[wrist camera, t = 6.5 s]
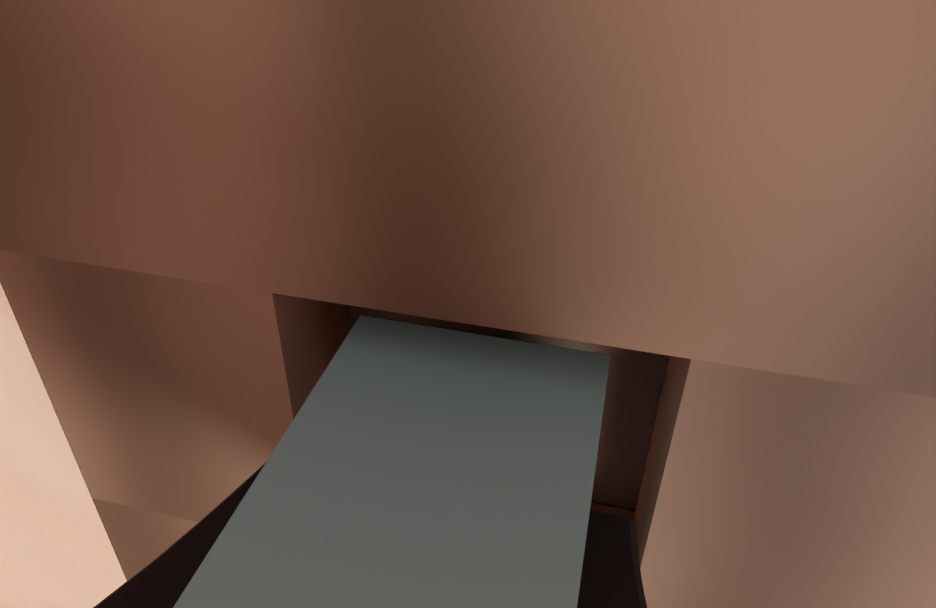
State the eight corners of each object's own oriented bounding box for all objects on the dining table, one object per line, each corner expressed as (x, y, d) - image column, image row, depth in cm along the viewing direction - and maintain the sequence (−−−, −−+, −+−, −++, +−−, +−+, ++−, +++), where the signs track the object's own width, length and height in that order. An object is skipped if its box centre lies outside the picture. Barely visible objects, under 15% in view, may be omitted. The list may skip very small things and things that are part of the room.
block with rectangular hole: (1261, -75, 8) (1464, -33, 6) (821, 695, 17) (840, 816, 15) (-8, -126, 11) (-167, -111, 9) (203, 549, 20) (149, 633, 18)
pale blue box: (610, 355, 11) (552, 789, 6) (582, 526, 13) (525, 942, 8) (360, 315, 12) (130, 672, 7) (375, 484, 14) (211, 842, 9)
